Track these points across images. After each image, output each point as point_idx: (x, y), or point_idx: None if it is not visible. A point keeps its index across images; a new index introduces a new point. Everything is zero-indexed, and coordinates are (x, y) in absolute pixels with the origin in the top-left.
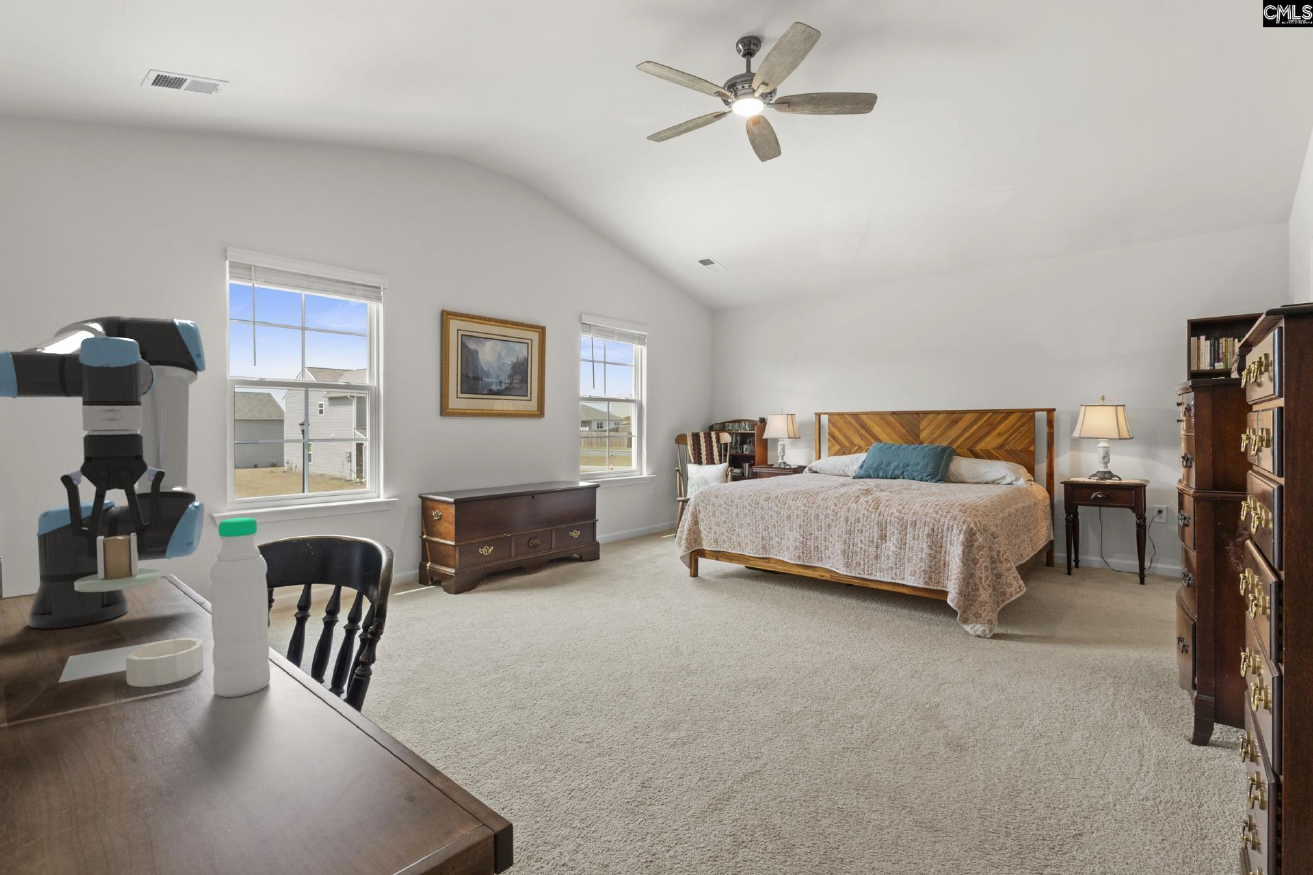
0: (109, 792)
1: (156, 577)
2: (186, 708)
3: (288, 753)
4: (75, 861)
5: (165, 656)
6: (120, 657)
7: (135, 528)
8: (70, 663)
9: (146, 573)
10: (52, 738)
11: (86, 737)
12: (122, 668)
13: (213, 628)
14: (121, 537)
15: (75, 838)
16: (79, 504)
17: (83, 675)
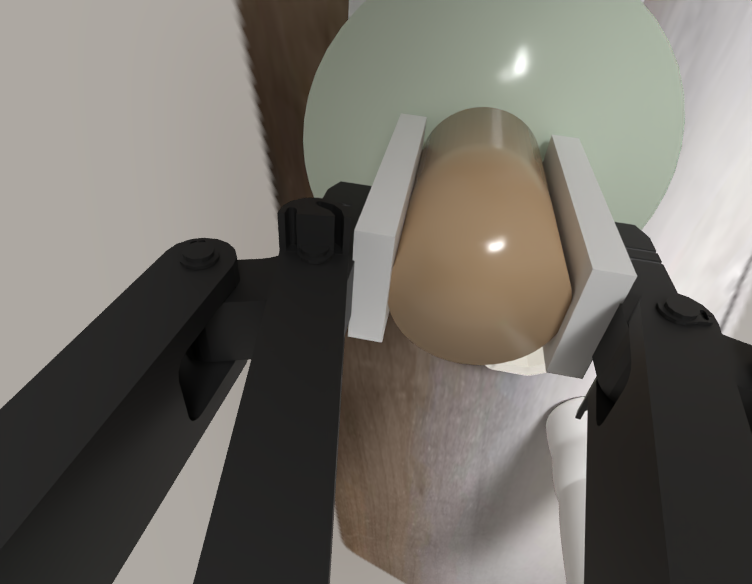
0: (397, 520)
1: None
2: (499, 426)
3: (532, 558)
4: (374, 563)
5: (510, 370)
6: None
7: (590, 417)
8: (359, 2)
9: (600, 183)
10: (351, 399)
11: (384, 421)
12: None
13: (560, 531)
14: (500, 314)
15: (374, 547)
16: (81, 571)
17: None
